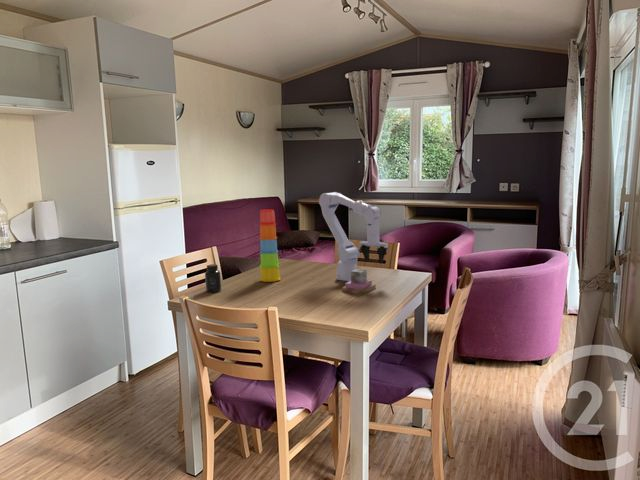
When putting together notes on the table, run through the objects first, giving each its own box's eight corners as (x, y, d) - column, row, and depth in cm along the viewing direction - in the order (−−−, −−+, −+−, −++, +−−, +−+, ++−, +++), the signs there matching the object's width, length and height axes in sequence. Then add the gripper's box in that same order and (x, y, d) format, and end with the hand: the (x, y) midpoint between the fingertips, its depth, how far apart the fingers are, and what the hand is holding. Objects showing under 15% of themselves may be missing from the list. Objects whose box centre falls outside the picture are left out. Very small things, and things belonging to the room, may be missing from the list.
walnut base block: (342, 292, 217) (342, 287, 217) (357, 286, 227) (357, 281, 226) (360, 296, 211) (360, 290, 211) (375, 289, 220) (375, 284, 220)
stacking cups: (256, 281, 237) (253, 210, 231) (266, 276, 246) (263, 208, 240) (275, 283, 233) (272, 211, 227) (284, 278, 242) (282, 209, 236)
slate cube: (351, 282, 218) (351, 271, 217) (357, 279, 221) (357, 268, 221) (360, 283, 215) (360, 272, 214) (366, 281, 219) (366, 270, 218)
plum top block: (345, 287, 216) (345, 283, 216) (356, 282, 224) (356, 278, 224) (361, 289, 212) (361, 285, 211) (371, 284, 220) (371, 280, 220)
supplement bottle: (224, 289, 224) (222, 264, 222) (216, 293, 218) (214, 267, 216) (211, 288, 226) (209, 263, 224) (203, 292, 220) (201, 266, 218)
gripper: (355, 233, 226) (356, 262, 228) (382, 235, 217) (382, 264, 219) (363, 231, 232) (364, 259, 234) (390, 233, 222) (391, 262, 224)
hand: (374, 262), depth 227 cm, fingers open, 7 cm apart
